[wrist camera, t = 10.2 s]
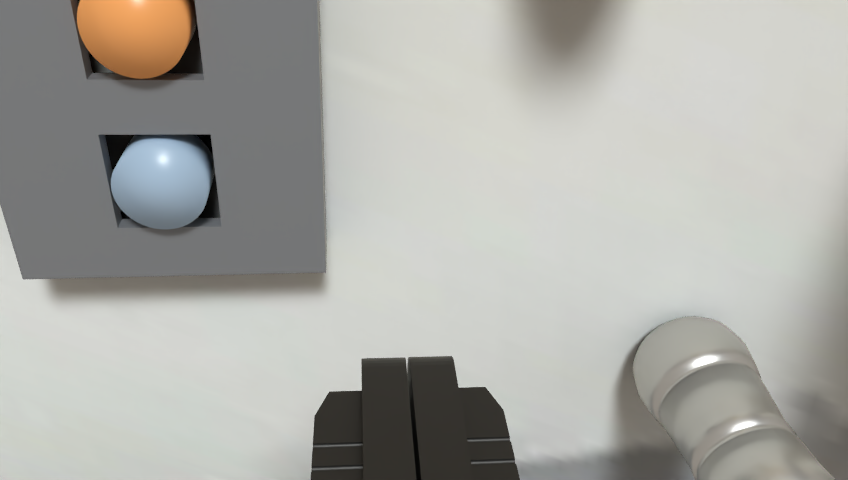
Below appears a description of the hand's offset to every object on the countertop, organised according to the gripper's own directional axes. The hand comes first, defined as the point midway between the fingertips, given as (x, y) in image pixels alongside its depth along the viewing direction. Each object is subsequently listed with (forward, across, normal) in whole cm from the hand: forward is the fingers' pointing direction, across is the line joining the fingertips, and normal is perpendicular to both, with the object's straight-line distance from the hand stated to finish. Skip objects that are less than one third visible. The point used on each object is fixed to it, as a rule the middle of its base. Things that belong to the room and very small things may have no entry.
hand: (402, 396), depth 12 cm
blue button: (+22, +9, +7) cm, 25 cm away
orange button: (+22, +9, 0) cm, 24 cm away
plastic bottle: (+24, -19, +20) cm, 37 cm away
